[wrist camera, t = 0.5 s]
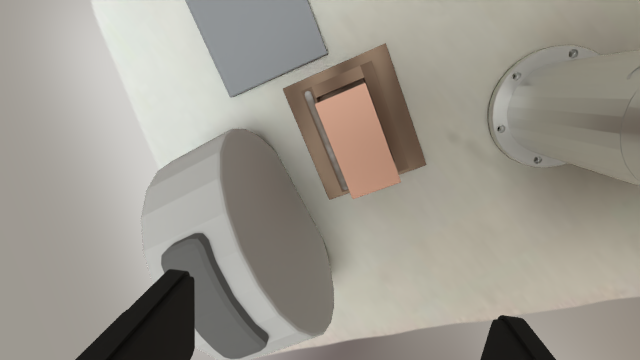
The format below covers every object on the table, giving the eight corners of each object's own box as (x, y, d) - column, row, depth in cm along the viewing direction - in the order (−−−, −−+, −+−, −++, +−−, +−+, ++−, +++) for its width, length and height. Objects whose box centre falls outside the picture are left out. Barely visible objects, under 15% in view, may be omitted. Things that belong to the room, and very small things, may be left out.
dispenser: (384, 44, 34) (390, 37, 29) (424, 162, 37) (434, 172, 32) (284, 89, 36) (275, 88, 31) (329, 197, 39) (327, 210, 34)
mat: (287, -52, 32) (285, -56, 31) (327, 54, 34) (327, 53, 33) (189, 1, 34) (184, -2, 33) (233, 97, 37) (229, 97, 36)
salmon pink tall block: (359, 86, 34) (365, 82, 23) (384, 153, 36) (401, 182, 24) (325, 100, 35) (314, 104, 23) (351, 165, 37) (352, 199, 25)
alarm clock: (207, 147, 39) (70, 200, 20) (258, 120, 37) (164, 148, 18) (288, 285, 43) (240, 439, 24) (337, 266, 41) (328, 412, 22)
